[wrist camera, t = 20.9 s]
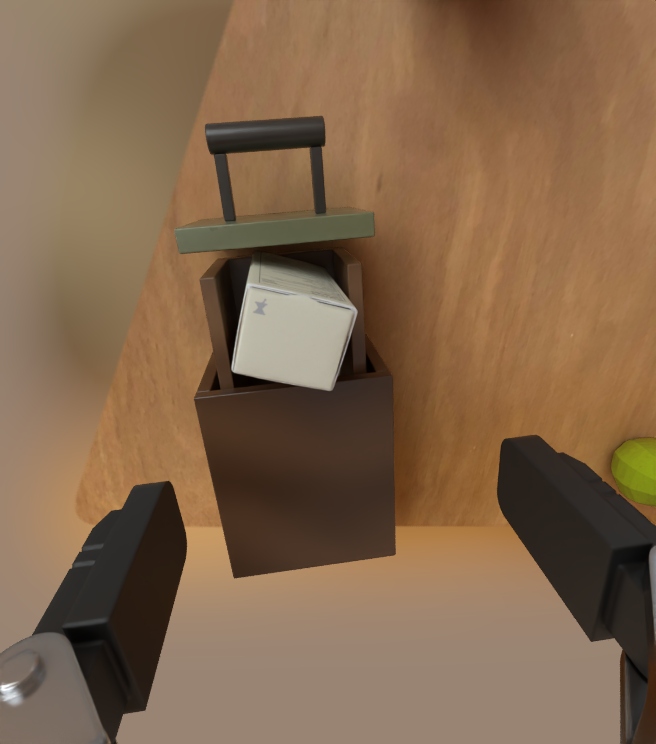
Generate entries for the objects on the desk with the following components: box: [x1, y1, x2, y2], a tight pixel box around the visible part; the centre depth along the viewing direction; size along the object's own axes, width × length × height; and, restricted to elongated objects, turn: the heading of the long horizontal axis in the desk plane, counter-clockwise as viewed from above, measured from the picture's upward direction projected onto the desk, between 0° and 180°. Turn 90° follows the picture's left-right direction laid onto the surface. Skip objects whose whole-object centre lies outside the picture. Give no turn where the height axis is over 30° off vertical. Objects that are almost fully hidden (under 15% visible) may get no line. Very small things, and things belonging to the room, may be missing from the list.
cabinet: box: [194, 333, 396, 578], centre depth 31 cm, size 14×11×10 cm
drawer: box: [174, 116, 375, 390], centre depth 26 cm, size 17×10×8 cm, turn 5°
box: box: [231, 251, 358, 391], centre depth 24 cm, size 5×4×11 cm
